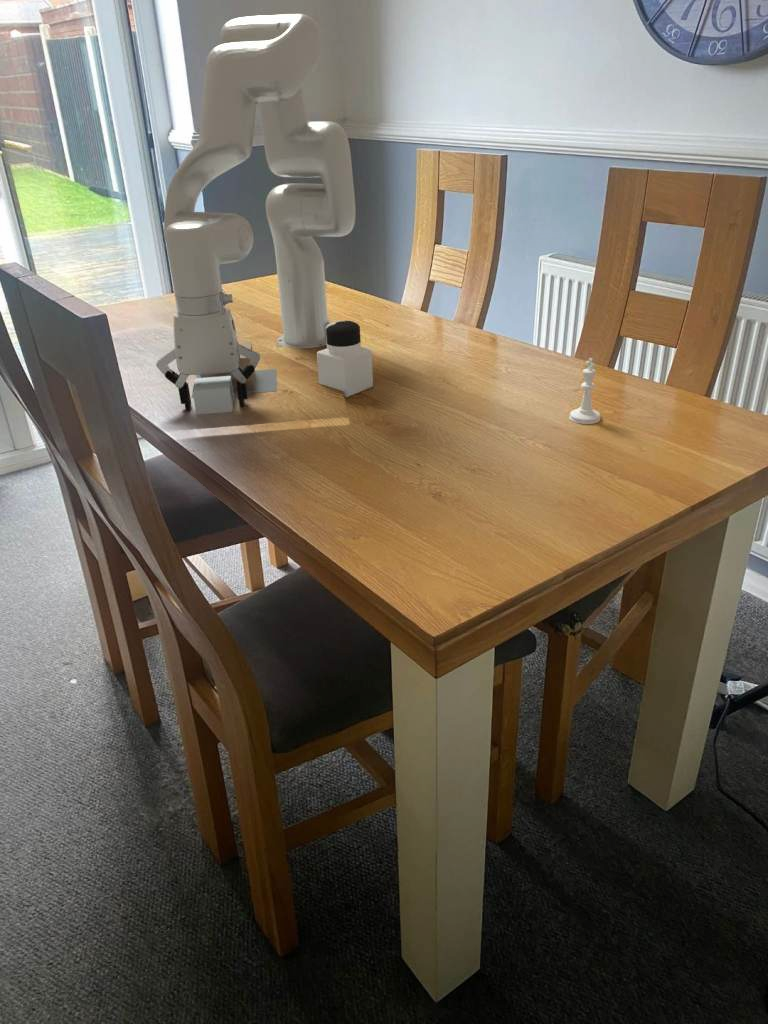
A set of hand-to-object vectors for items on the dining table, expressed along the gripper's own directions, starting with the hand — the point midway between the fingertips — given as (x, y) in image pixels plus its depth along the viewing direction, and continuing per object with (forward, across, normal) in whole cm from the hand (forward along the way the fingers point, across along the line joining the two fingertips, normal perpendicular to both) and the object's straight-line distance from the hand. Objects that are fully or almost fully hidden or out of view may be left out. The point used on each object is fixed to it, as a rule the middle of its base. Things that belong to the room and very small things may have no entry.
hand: (215, 404), depth 134 cm
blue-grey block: (+2, 0, 0) cm, 2 cm away
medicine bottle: (+2, -23, -7) cm, 24 cm away
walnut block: (0, -2, -11) cm, 11 cm away
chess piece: (+2, -60, +15) cm, 62 cm away
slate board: (+1, -3, -11) cm, 11 cm away
